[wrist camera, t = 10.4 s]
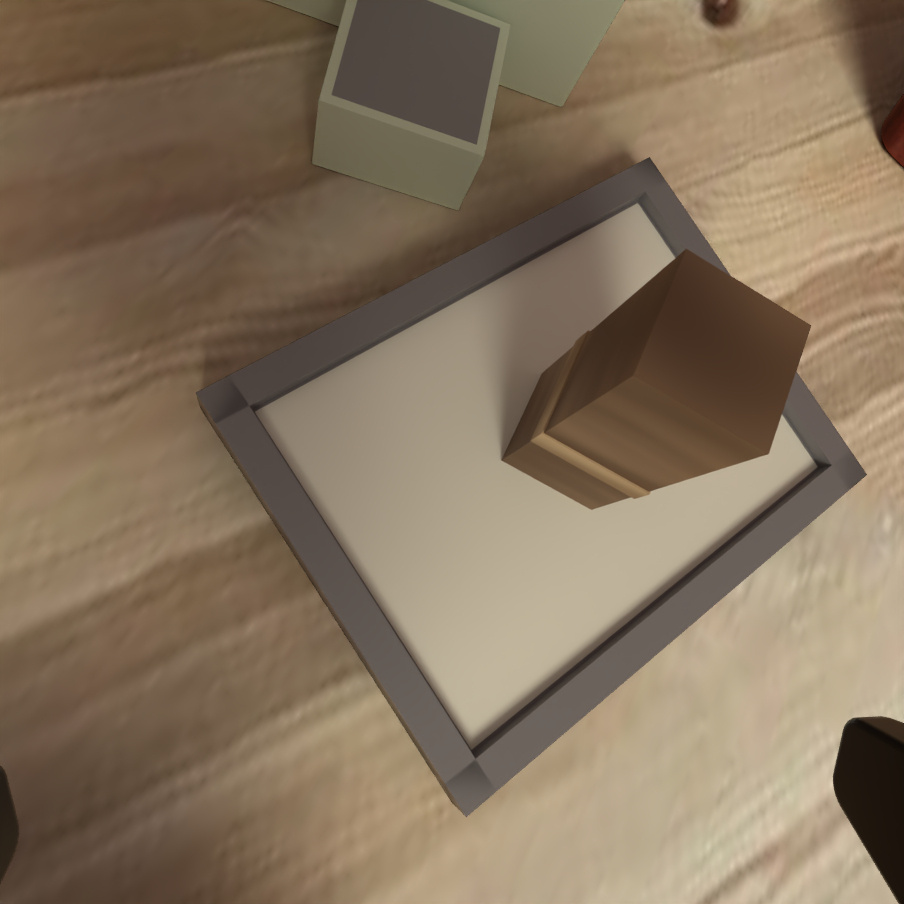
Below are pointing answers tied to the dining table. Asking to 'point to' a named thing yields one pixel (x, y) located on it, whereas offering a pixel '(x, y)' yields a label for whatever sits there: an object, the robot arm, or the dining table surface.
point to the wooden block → (662, 389)
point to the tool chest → (439, 81)
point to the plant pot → (895, 132)
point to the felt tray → (503, 487)
